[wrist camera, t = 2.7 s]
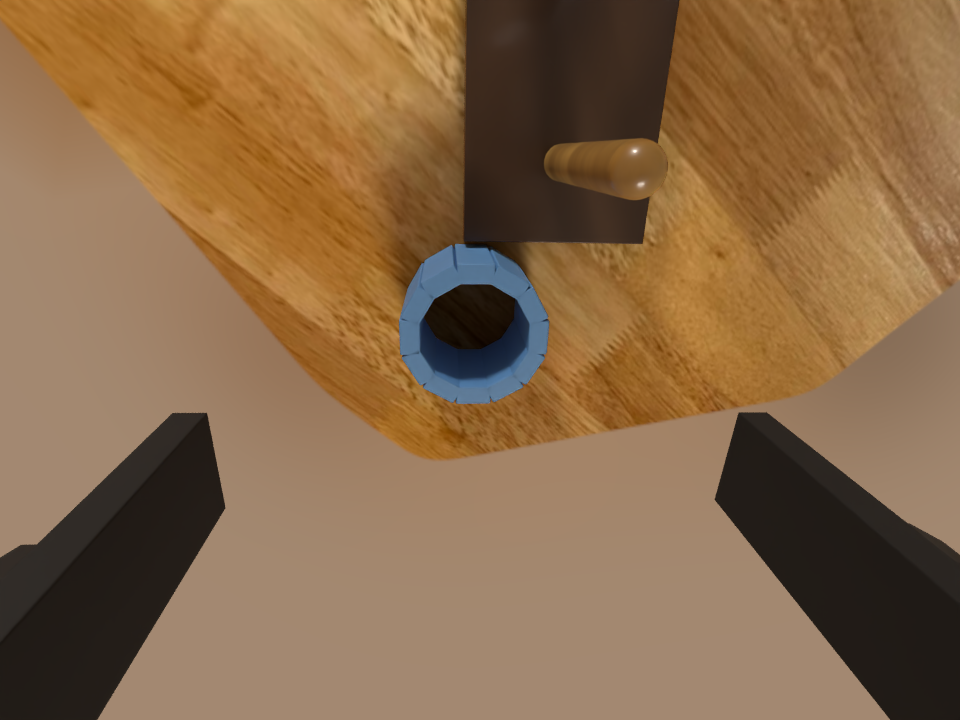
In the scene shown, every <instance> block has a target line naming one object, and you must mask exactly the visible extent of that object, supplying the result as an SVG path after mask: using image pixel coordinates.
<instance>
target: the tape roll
mask: <svg viewBox="0 0 960 720" xmlns="http://www.w3.org/2000/svg"><path fill="white" fill-rule="evenodd" d="M460 284H491V285H493V286H494V287H496V288H498V289H500V290H501V291H503V292H505V293H506V294H508V295H510V296H511V297H513V298H515V310H514V319H513V321H512V322H511V324H510V326H509V327H508V329H507V330H506V332H505V333H504V335H503V336H502V338H501V339H499V340H497V341H495V342H493V343H491V344H489V345H488V346H486V347H484V348H482V349H456V348H454V347H452V346H450V345H449V344H447V343H445V342H443V341H441V340H439V339H437V338H436V336H435V335H434V333H433V332H432V330H431V328H430V327H429V325H428V324H427V322H426V320H425V319H424V316H425V314H426V312H427V310H428V309H429V307H430V305H431V304H432V302H433V300H434V299H435V298H437V297H439V296H441V295H442V294H444V293H446V292H448V291H450V290H451V289H453V288H455V287H457V286H459V285H460ZM547 318H548V315H547V313H546V311H545V309H544V307H543V305H542V303H541V301H540V299H539V297H538V295H537V293H536V291H535V289H534V288H533V286H532V285H531V283H530V282H529V280H528V278H527V277H526V275H525V274H524V272H523V271H522V269H521V268H520V266H519V265H518V264H517V263H516V262H515V261H514V260H513V259H511V258H509V257H508V256H506V255H505V254H503V253H501V252H500V251H498V250H496V249H495V248H493V247H491V246H489V247H488V248H487V246H486V245H485V244H455V249H454V248H453V246H452V245H450V246H449V247H447V248H445V249H443V250H442V251H440V252H438V253H436V254H435V255H433V256H431V257H429V258H428V259H426V260H425V262H424V263H422V264H421V266H420V267H419V269H418V271H417V273H416V275H415V276H414V278H413V280H412V282H411V283H410V285H409V287H408V290H407V293H406V297H405V301H404V305H403V308H402V312H401V316H400V320H399V332H400V354H401V355H402V359H403V361H404V362H405V364H406V365H407V367H408V368H409V370H410V371H411V373H412V374H413V376H414V377H415V379H416V380H417V382H418V383H419V385H422V384H423V388H424V389H426V390H428V391H430V392H432V393H434V394H436V395H438V396H440V397H442V398H444V399H446V400H448V401H450V402H452V403H453V402H454V401H455V399H456V403H457V404H472V403H490V398H491V399H492V401H493V402H495V401H497V400H499V399H501V398H503V397H505V396H507V395H509V394H511V393H513V392H515V391H517V390H519V389H521V388H522V387H523V384H522V383H524V384H527V383H528V381H529V380H530V379H531V377H532V376H533V374H534V373H535V371H536V370H537V369H538V367H539V366H540V364H541V363H542V361H543V360H544V359H545V357H544V355H543V354H546V353H547V343H548V331H549V320H548V319H547Z"/></svg>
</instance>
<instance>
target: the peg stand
mask: <svg viewBox="0 0 960 720" xmlns="http://www.w3.org/2000/svg"><path fill="white" fill-rule="evenodd" d="M678 6H679V0H466V9H465V95H464V181H463V240H464V241H480V242H549V243H617V244H642V243H643V236H644V229H645V223H646V216H647V210H648V203H649V197H650V196H651V195H652V194H654V193H655V192H656V191H657V190H658V189H659V188H660V187H661V185H662V184H663V182H664V180H665V178H666V175H667V170H668V162H667V157H666V155H665V152H664V151H663V149H662V148H661V147H660V146H659V145H658V137H659V131H660V124H661V118H662V111H663V105H664V98H665V91H666V85H667V78H668V72H669V65H670V58H671V52H672V45H673V39H674V32H675V26H676V19H677V12H678Z"/></svg>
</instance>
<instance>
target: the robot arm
mask: <svg viewBox="0 0 960 720" xmlns="http://www.w3.org/2000/svg"><path fill="white" fill-rule="evenodd" d="M715 501H716V502H717V503H718V504H719V506H720V507H721V508H722V509H723V511H724V512H725V513H726V514H727V516H728V517H729V518H730V519H731V521H732V522H733V523H734V524H735V526H736V527H737V528H738V529H739V531H740V532H741V533H742V534H743V536H744V537H745V538H746V539H747V541H748V542H749V543H750V544H751V546H752V547H753V548H754V549H755V551H756V552H757V553H758V555H759V556H760V557H761V558H762V559H763V561H764V562H765V563H766V564H767V566H768V567H769V568H770V570H771V571H772V572H773V573H774V575H775V576H776V577H777V578H778V580H779V581H780V582H781V583H782V585H783V586H784V587H785V588H786V590H787V591H788V592H789V593H790V595H791V596H792V597H793V598H794V600H795V601H796V602H797V603H798V604H799V606H800V607H801V608H802V610H803V611H804V612H805V613H806V615H807V616H808V617H809V618H810V620H811V621H812V622H813V623H814V625H815V626H816V627H817V628H818V630H819V631H820V632H821V633H822V635H823V636H824V637H825V638H826V640H827V641H828V642H829V643H830V645H831V646H832V647H833V648H834V650H835V651H836V652H837V654H838V655H839V656H840V657H841V659H842V660H843V661H844V662H845V664H846V665H847V666H848V667H849V669H850V670H851V671H852V672H853V674H854V675H855V676H856V677H857V678H858V680H859V681H860V682H861V684H862V685H863V686H864V687H865V689H866V690H867V691H868V692H869V694H870V695H871V696H872V697H873V699H874V700H875V701H876V702H877V704H878V705H879V706H880V707H881V708H882V710H883V711H884V712H885V714H886V715H887V716H888V717H889V719H890V720H960V555H959V554H958V553H957V552H955V551H954V550H953V549H952V548H950V547H949V546H948V545H946V544H945V543H944V542H942V541H941V540H939V539H937V538H935V537H933V536H931V535H930V534H928V533H926V532H924V531H922V530H920V529H919V528H917V527H915V526H913V525H911V524H908V523H906V522H905V521H904V520H903V519H901V518H900V517H899V516H897V515H896V514H895V513H894V512H892V511H891V510H890V509H888V508H887V507H886V506H885V505H883V504H882V503H881V502H880V501H878V500H877V499H876V498H875V497H873V496H872V495H871V494H870V493H868V492H867V491H866V490H864V489H863V488H862V487H861V486H859V485H858V484H857V483H856V482H854V481H853V480H852V479H850V478H849V477H848V476H847V475H845V474H844V473H843V472H842V471H840V470H839V469H838V468H837V467H835V466H834V465H833V464H831V463H830V462H829V461H828V460H826V459H825V458H824V457H823V456H821V455H820V454H819V453H818V452H816V451H815V450H814V449H812V448H811V447H810V446H809V445H807V444H806V443H805V442H804V441H802V440H801V439H800V438H798V437H797V436H796V435H795V434H793V433H792V432H791V431H790V430H788V429H787V428H786V427H785V426H783V425H782V424H781V423H779V422H778V421H777V420H776V419H774V418H773V417H772V416H771V415H769V414H768V413H739V414H738V417H737V420H736V424H735V428H734V431H733V435H732V439H731V442H730V446H729V449H728V453H727V457H726V460H725V464H724V468H723V472H722V475H721V479H720V482H719V486H718V490H717V493H716V497H715ZM224 509H225V503H224V498H223V493H222V488H221V483H220V477H219V472H218V467H217V462H216V457H215V452H214V447H213V442H212V436H211V431H210V426H209V421H208V416H207V413H172V414H171V415H170V416H169V417H168V418H167V419H166V420H165V421H164V422H163V423H162V424H161V425H160V426H159V427H158V428H157V429H156V430H155V431H154V432H153V433H152V434H151V435H150V436H149V437H148V438H146V439H145V440H144V441H143V442H142V443H141V444H140V445H139V446H138V447H137V448H136V449H135V450H134V451H133V452H132V453H131V454H130V455H129V456H128V457H127V458H126V459H125V460H124V461H123V462H122V463H121V464H120V465H119V466H118V467H117V468H116V469H114V470H113V471H112V472H111V473H110V474H109V475H108V476H107V477H106V478H105V479H104V480H103V481H102V482H101V483H100V484H99V485H98V486H97V487H96V488H95V489H94V490H93V491H92V492H91V493H90V494H89V495H88V496H87V497H86V498H85V499H83V500H82V501H81V502H80V504H78V505H77V506H76V507H75V508H74V509H73V510H72V511H71V512H70V513H69V514H68V515H67V516H66V517H65V518H64V519H63V520H62V521H61V522H60V523H59V524H58V525H57V526H56V527H55V528H54V529H53V530H51V531H50V533H48V534H47V535H46V537H44V538H43V539H42V540H41V541H40V542H39V543H38V544H37V545H20V546H19V547H17V548H15V549H14V550H12V551H10V552H9V553H7V554H6V555H4V556H2V557H1V558H0V720H97V719H98V717H99V716H100V714H101V713H102V711H103V709H104V708H105V706H106V704H107V702H108V701H109V699H110V698H111V696H112V694H113V693H114V691H115V689H116V688H117V686H118V684H119V683H120V681H121V679H122V678H123V676H124V674H125V673H126V671H127V670H128V668H129V666H130V665H131V663H132V661H133V659H134V658H135V656H136V655H137V653H138V651H139V650H140V648H141V647H142V645H143V643H144V642H145V640H146V638H147V637H148V635H149V633H150V631H151V630H152V628H153V626H154V625H155V623H156V621H157V620H158V618H159V617H160V615H161V613H162V612H163V610H164V608H165V607H166V605H167V604H168V602H169V600H170V599H171V597H172V595H173V594H174V592H175V590H176V589H177V587H178V585H179V584H180V582H181V580H182V579H183V577H184V575H185V574H186V572H187V571H188V569H189V567H190V565H191V564H192V562H193V560H194V559H195V557H196V556H197V554H198V552H199V551H200V549H201V547H202V546H203V544H204V543H205V541H206V539H207V538H208V536H209V534H210V533H211V531H212V529H213V528H214V526H215V524H216V523H217V521H218V519H219V518H220V516H221V514H222V513H223V511H224Z"/></svg>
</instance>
